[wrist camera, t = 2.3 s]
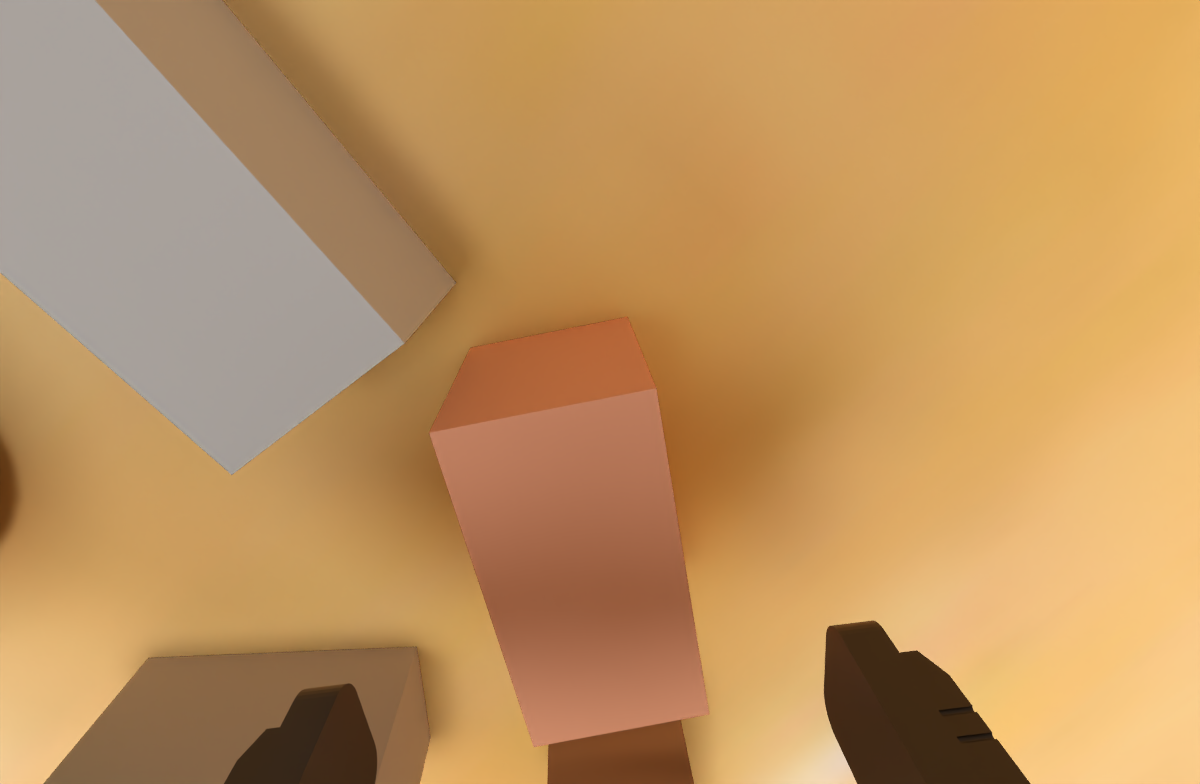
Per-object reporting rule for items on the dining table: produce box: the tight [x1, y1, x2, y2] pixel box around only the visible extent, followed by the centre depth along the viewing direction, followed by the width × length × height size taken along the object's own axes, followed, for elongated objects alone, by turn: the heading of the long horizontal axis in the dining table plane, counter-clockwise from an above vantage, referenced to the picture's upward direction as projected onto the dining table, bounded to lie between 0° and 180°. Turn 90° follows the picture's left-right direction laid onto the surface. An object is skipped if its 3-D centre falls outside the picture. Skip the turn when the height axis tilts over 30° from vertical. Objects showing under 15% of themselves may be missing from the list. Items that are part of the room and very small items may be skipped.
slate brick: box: [44, 647, 431, 784], centre depth 16 cm, size 8×4×5 cm, turn 90°
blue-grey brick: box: [0, 0, 456, 475], centre depth 11 cm, size 8×4×5 cm, turn 36°
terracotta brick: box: [429, 317, 709, 747], centre depth 14 cm, size 8×4×5 cm, turn 11°
